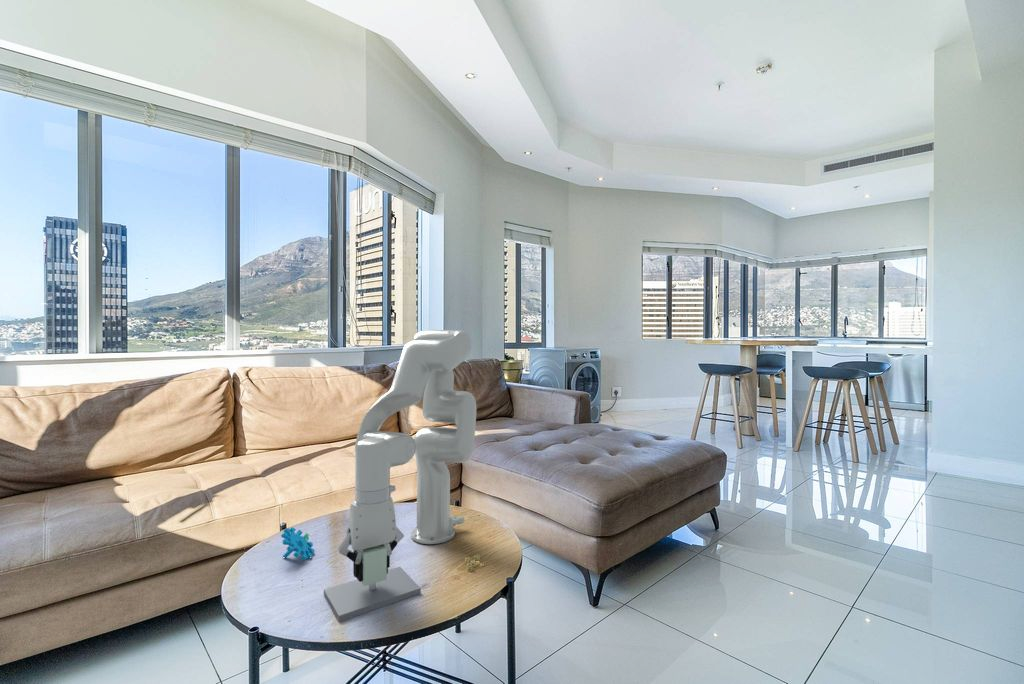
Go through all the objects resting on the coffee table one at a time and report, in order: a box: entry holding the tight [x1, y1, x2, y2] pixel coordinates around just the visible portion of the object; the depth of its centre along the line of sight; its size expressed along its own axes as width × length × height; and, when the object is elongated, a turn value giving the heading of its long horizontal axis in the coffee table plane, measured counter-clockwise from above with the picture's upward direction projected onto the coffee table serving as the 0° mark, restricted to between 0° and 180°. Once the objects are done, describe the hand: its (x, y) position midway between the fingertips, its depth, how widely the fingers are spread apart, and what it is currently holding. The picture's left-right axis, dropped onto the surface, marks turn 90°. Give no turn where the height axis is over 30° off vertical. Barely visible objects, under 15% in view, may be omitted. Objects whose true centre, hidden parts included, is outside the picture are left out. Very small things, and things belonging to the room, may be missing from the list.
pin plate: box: [323, 566, 422, 622], centre depth 104 cm, size 18×12×4 cm, turn 126°
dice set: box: [464, 554, 485, 572], centre depth 118 cm, size 5×5×2 cm
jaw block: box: [361, 545, 387, 586], centre depth 104 cm, size 5×5×7 cm
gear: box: [280, 526, 315, 561], centre depth 122 cm, size 11×6×10 cm
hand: (371, 574), depth 104 cm, fingers closed on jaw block, 5 cm apart
